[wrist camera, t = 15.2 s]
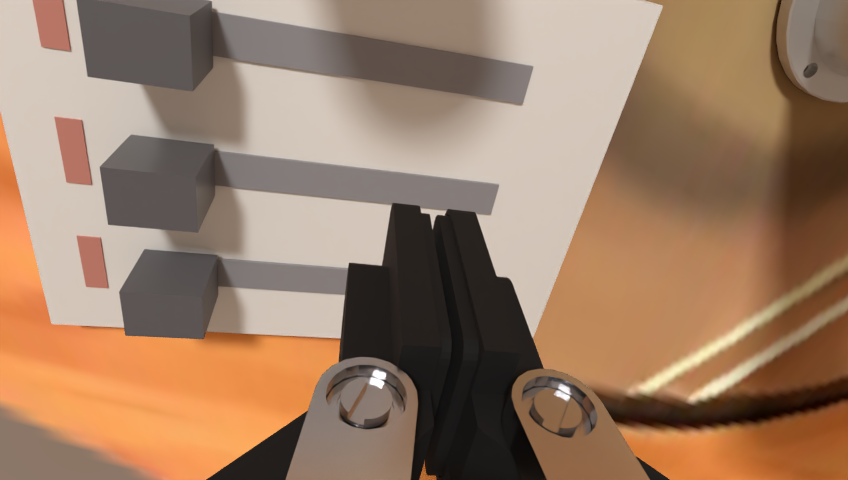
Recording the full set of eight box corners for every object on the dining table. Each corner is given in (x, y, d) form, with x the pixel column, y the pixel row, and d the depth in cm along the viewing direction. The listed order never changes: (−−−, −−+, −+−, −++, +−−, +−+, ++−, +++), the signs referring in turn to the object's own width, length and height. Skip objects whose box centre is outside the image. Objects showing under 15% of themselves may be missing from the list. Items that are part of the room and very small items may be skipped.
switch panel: (644, 0, 28) (714, 20, 23) (521, 329, 40) (548, 393, 35) (-30, -141, 22) (-153, -159, 16) (65, 303, 34) (13, 377, 28)
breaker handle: (214, 144, 27) (195, 177, 24) (215, 195, 29) (198, 232, 25) (130, 134, 26) (99, 167, 23) (136, 187, 28) (108, 225, 24)
